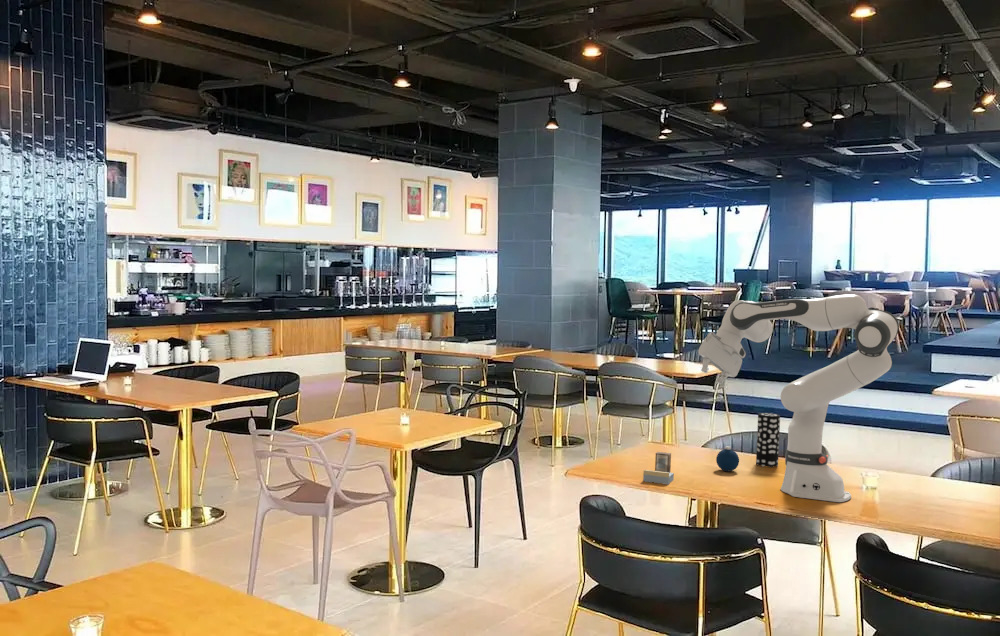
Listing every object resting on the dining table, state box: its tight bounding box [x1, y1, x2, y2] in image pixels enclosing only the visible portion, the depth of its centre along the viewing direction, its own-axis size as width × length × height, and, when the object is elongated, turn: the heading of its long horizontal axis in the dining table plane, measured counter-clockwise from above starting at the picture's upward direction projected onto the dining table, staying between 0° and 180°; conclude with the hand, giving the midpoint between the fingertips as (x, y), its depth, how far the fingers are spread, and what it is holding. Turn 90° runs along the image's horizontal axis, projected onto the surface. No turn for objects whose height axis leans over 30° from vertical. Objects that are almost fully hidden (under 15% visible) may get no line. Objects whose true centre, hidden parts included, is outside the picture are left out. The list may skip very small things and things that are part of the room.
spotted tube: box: [755, 412, 781, 468], centre depth 332 cm, size 8×8×20 cm
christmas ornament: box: [715, 445, 740, 472], centre depth 319 cm, size 8×8×10 cm
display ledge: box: [642, 469, 675, 485], centre depth 300 cm, size 9×8×4 cm
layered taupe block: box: [654, 451, 672, 473], centre depth 309 cm, size 5×3×8 cm, turn 65°
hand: (711, 377), depth 296 cm, fingers open, 8 cm apart
